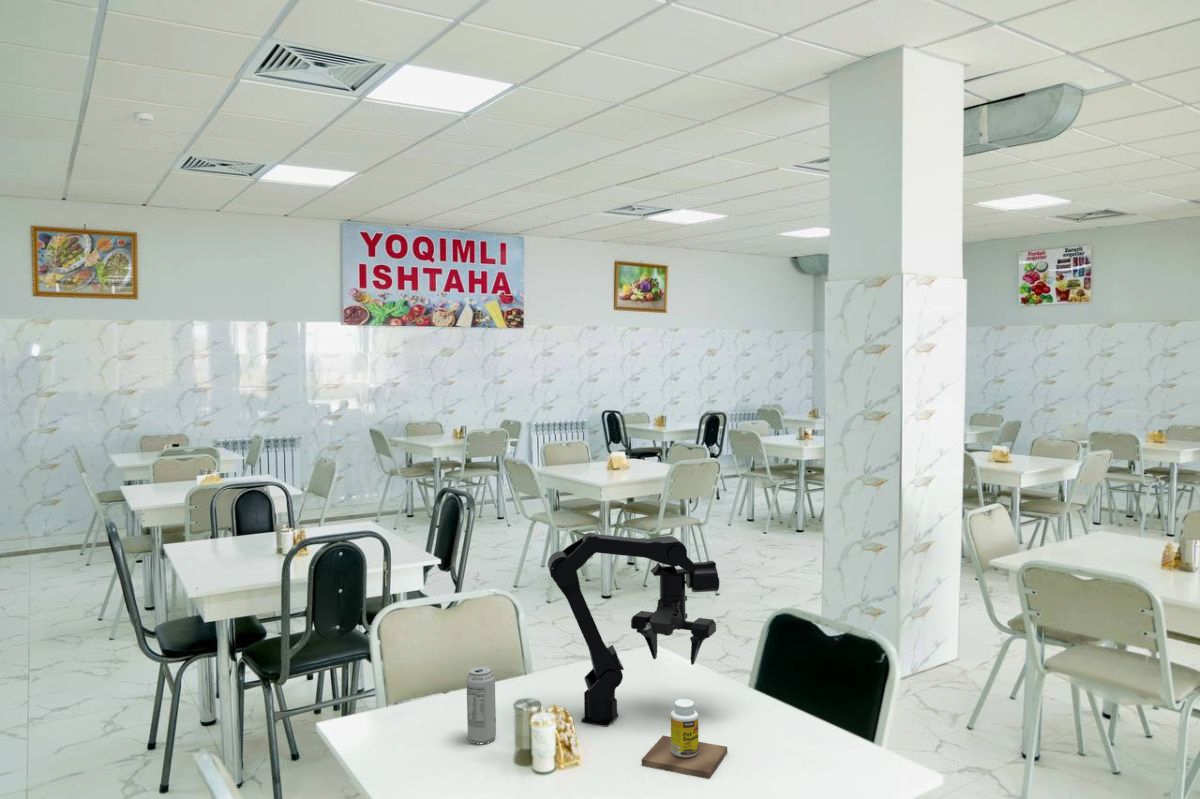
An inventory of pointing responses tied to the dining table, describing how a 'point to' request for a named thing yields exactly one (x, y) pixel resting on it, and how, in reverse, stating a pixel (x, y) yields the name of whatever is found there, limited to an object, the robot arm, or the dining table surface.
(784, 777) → the dining table surface
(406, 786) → the dining table surface
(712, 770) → the walnut board
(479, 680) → the energy drink can
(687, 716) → the supplement bottle
